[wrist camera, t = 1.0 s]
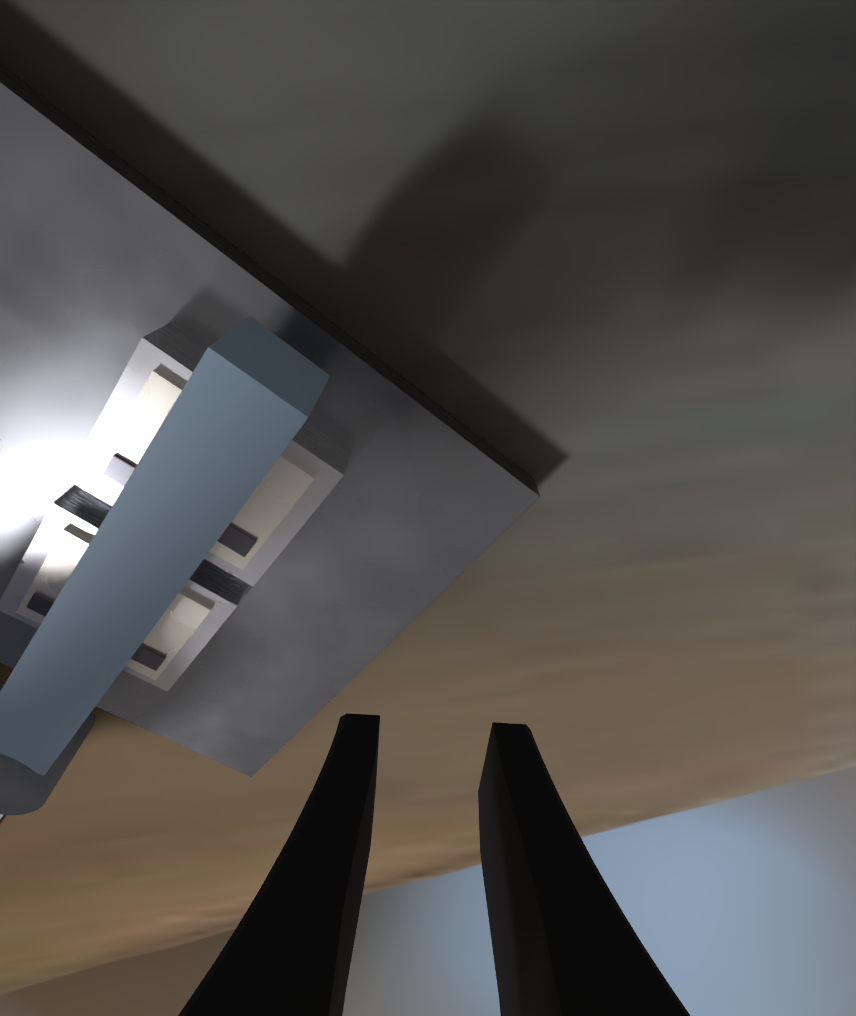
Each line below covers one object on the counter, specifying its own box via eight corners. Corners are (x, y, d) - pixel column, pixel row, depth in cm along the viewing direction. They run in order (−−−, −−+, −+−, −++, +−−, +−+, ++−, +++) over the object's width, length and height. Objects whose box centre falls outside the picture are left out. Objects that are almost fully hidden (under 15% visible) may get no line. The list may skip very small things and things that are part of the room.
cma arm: (74, 751, 21) (26, 827, 18) (-16, 713, 20) (-79, 788, 17) (347, 388, 14) (329, 432, 11) (230, 301, 13) (183, 329, 10)
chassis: (258, 753, 26) (238, 817, 23) (-211, 531, 20) (-308, 583, 17) (534, 479, 19) (551, 527, 16) (-66, 12, 13) (-192, -30, 10)
